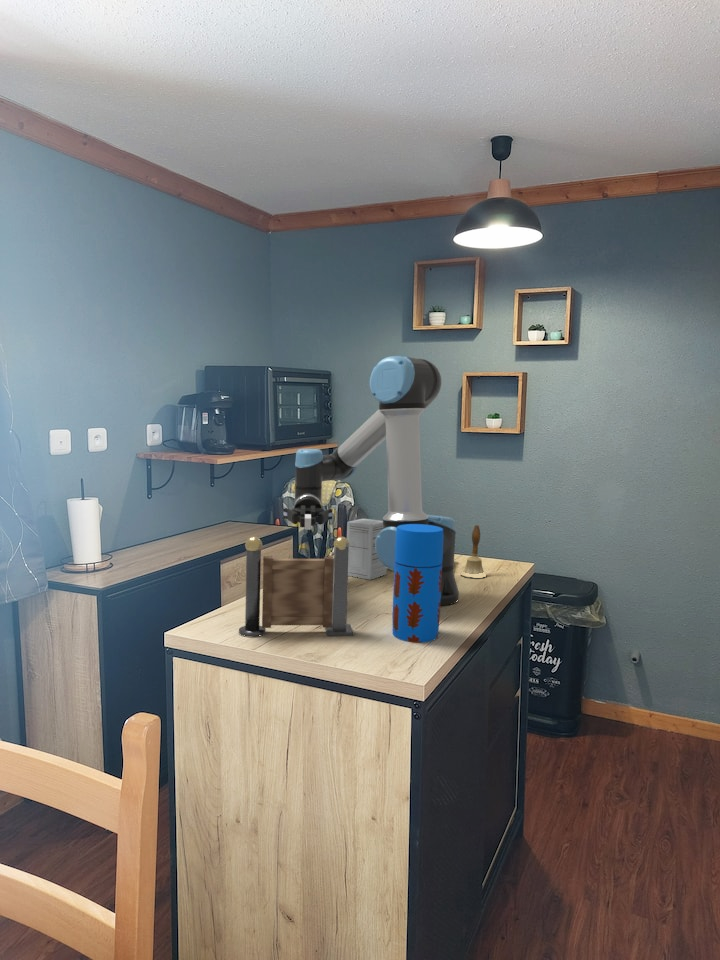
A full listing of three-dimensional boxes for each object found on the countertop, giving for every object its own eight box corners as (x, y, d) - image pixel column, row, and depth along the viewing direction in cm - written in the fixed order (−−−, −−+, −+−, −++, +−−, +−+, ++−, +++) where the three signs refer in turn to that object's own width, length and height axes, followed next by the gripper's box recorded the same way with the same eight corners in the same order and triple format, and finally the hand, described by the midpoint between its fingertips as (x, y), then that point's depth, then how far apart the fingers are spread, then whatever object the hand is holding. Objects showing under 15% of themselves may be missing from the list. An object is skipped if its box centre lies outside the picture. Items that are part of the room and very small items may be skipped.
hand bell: (467, 571, 230) (470, 522, 229) (491, 575, 226) (494, 525, 224) (455, 575, 224) (457, 525, 222) (479, 580, 219) (482, 528, 217)
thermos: (436, 644, 159) (441, 533, 156) (388, 640, 161) (392, 530, 158) (440, 629, 170) (445, 525, 167) (395, 625, 172) (400, 522, 169)
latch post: (327, 635, 162) (329, 539, 160) (324, 627, 168) (327, 534, 166) (353, 635, 163) (356, 539, 161) (350, 627, 169) (353, 534, 167)
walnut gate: (262, 627, 162) (263, 558, 160) (262, 624, 164) (263, 556, 162) (331, 627, 164) (333, 558, 162) (330, 624, 166) (332, 556, 164)
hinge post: (269, 629, 165) (271, 535, 163) (260, 638, 159) (262, 539, 157) (244, 627, 166) (246, 533, 164) (234, 635, 161) (236, 538, 158)
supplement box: (387, 575, 222) (389, 521, 220) (370, 580, 214) (372, 525, 212) (361, 570, 227) (363, 517, 225) (344, 575, 219) (346, 521, 217)
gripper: (331, 523, 194) (335, 540, 170) (283, 523, 193) (279, 539, 169) (332, 496, 193) (335, 508, 170) (283, 495, 192) (280, 508, 169)
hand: (307, 524), depth 170 cm, fingers closed
